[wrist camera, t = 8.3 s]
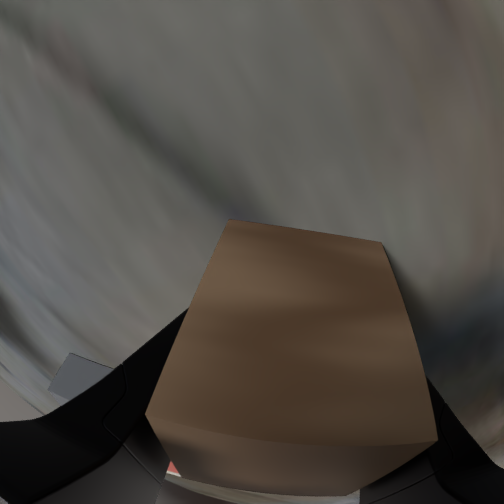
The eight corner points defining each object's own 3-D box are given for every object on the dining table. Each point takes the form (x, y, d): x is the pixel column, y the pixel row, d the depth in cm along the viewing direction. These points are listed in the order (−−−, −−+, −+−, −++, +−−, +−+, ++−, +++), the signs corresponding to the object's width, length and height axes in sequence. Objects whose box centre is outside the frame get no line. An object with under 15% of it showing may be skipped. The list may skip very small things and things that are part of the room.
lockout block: (381, 242, 8) (438, 440, 3) (341, 342, 11) (345, 495, 6) (229, 219, 9) (145, 414, 4) (224, 326, 11) (181, 477, 6)
